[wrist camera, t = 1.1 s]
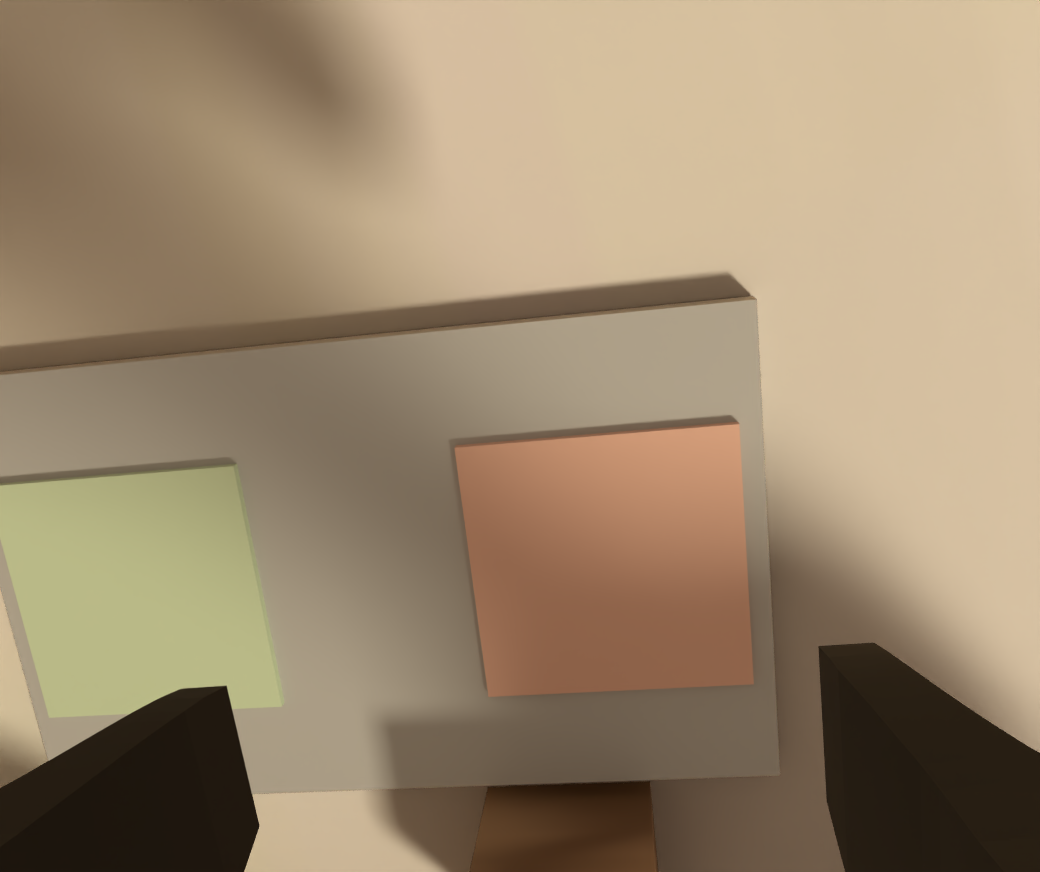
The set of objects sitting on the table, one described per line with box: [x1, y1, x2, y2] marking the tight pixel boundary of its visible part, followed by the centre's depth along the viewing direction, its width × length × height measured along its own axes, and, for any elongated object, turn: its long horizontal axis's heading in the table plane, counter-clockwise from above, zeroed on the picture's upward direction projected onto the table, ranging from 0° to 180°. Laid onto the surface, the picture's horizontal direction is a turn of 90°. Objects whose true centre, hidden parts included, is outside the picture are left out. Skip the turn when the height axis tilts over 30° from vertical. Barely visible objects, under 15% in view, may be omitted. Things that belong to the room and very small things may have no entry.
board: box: [0, 296, 780, 794], centre depth 21 cm, size 18×11×1 cm, turn 97°
